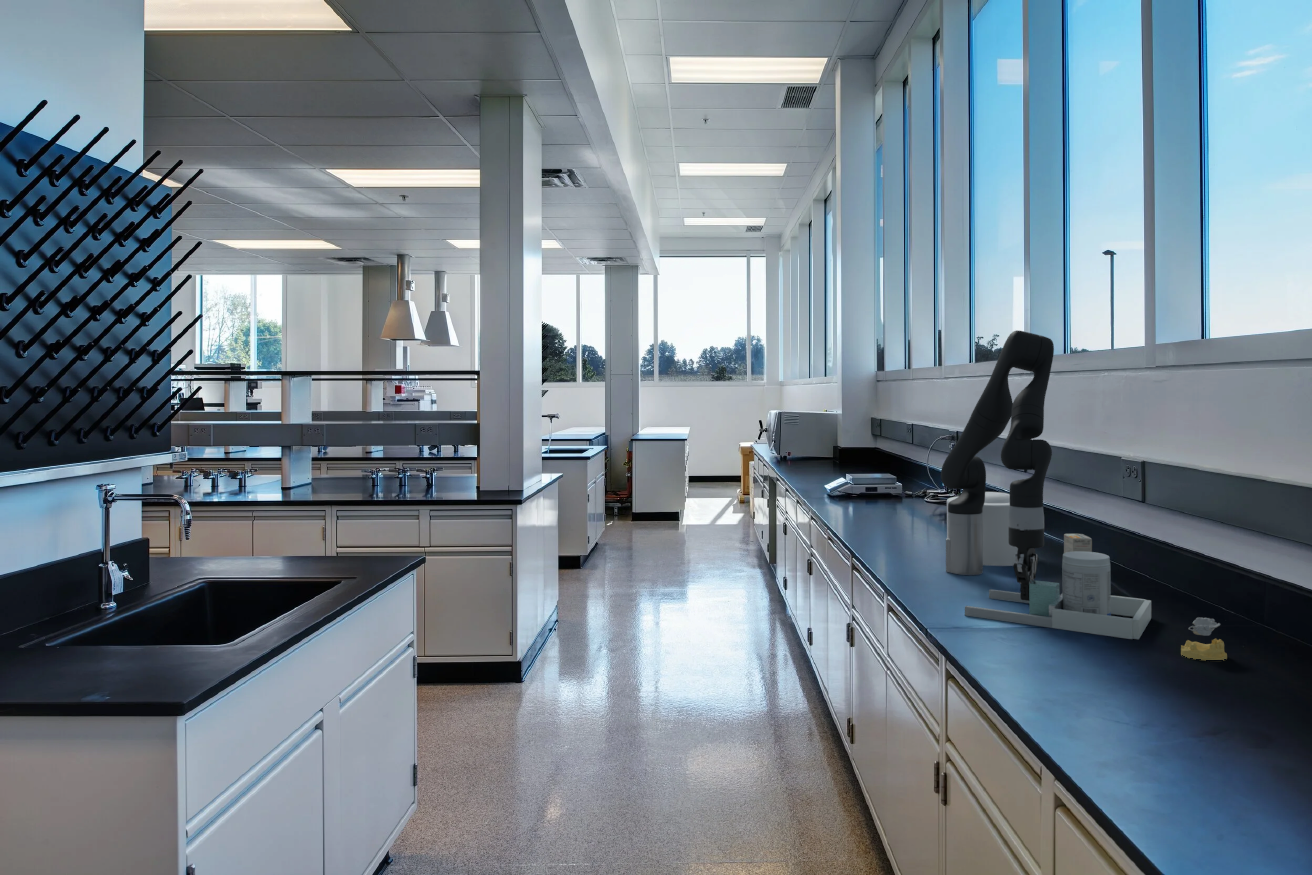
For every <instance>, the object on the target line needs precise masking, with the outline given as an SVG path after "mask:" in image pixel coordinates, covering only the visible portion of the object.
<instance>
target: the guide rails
mask: <svg viewBox="0 0 1312 875" xmlns="http://www.w3.org/2000/svg"><path fill="white" fill-rule="evenodd" d="M988 599H993V600H1001V601H1007V602H1015V603H1016V602H1017V603H1025V604H1029V601H1026V600H1021V598H1020V592H1017V591H1016V592H1015V591H1008V590H999V589H990V588H989V590H988ZM964 616H967V617H975V618H980V619H986V620H987V619H988V620H994V621H1002V622H1007V623H1009V622H1010V623H1015V624H1016V623H1017V624H1021V625H1022V624H1023V625H1030V626H1036V627H1042V628H1043V627H1044V628H1051V629H1053V628H1052V617H1049V616H1042V615H1035V614H1029V613H1025V612H1023V613H1022V612H1014V611H1008V610H1001V609H994V608H987V607H986V608H985V607H980V606H971V605H965V606H964Z"/></svg>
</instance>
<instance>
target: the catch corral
mask: <svg viewBox="0 0 1312 875" xmlns="http://www.w3.org/2000/svg"><path fill="white" fill-rule="evenodd" d="M1115 615H1117V616H1115ZM1121 616H1123V617H1121ZM1130 617H1132V618H1130ZM1151 619H1152V600H1150V599H1144V598H1137V597H1129V596H1121V595H1111V616H1108V615H1101V614H1093V613H1085V612H1077V611H1070V610H1062V609H1054V608H1053V609H1052V628H1051V629H1056V630H1057V629H1058V630H1065V631H1071V632H1078V633H1086V634H1092V635H1098V636H1106V637H1107V636H1108V637H1112V638H1113V637H1114V638H1121V639H1128V640H1133V639H1134V640H1140V638H1141V636H1142V635H1143V632H1144V631H1145V630H1146V627H1147V626H1148V624H1149V623H1150V621H1151Z"/></svg>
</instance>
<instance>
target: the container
mask: <svg viewBox="0 0 1312 875" xmlns="http://www.w3.org/2000/svg"><path fill="white" fill-rule="evenodd" d="M959 496H960V495H957V496H953V497H952V496H951V497H949V498H947V500H946V539H947V538H948V504H949V502H950V501H952V500H954V499H956V498H958V497H959ZM1009 509H1010V493H1006V492H1000V491H998V492H997V491H985V502H984V505H983V512H982V513H983V566H988V567H989V566H990V567H991V566H992V567H1011V566H1012V567H1013V565H1014V563H1016V561H1015V555H1016V554H1017V551H1018V548H1017V547H1013V546H1011V545H1009Z"/></svg>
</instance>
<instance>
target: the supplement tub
mask: <svg viewBox="0 0 1312 875" xmlns="http://www.w3.org/2000/svg"><path fill="white" fill-rule="evenodd" d="M1110 560H1111V559H1110V556H1109V555H1107V554H1105V553H1101V552H1094V551H1092V552H1084V551H1075V552H1066V553H1064V552H1063V554H1062V560H1061V561H1062V563H1061V568H1062V570H1061V572H1062V573H1061V574H1062V576H1061V579H1062V580H1061V582H1062V584H1061V585H1062V589H1061V590H1062V593H1061V594H1063V610H1070V611H1077V612H1085V613H1093V614H1101V615H1108V616H1112V614H1111V594H1112V593H1111V591H1112V590H1111V587H1112V586H1111V585H1112V584H1111V581H1112V580H1111V576H1112V575H1111V561H1110Z"/></svg>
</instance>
